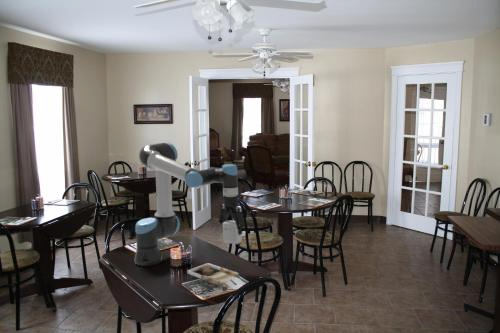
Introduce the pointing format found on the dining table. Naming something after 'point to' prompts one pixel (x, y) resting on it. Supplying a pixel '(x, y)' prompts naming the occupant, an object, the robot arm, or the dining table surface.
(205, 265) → the chip
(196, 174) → the robot arm
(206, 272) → the chip
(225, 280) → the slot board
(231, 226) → the small box
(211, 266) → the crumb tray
